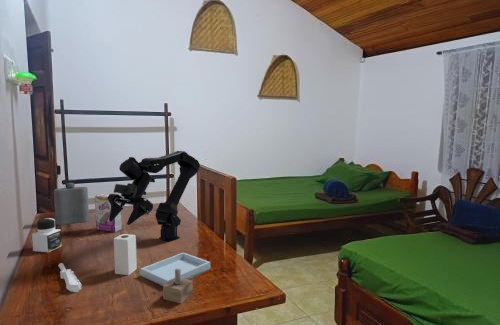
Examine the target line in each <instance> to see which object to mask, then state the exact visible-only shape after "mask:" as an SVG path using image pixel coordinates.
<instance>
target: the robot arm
mask: <svg viewBox="0 0 500 325" xmlns="http://www.w3.org/2000/svg"><path fill="white" fill-rule="evenodd" d="M176 163H177V165H178V166H179V168H178V169H179V175H178V177H177V180H176V181H175V183H174V185H173V188H172V189H171V192H170V193H169V196H168V197H167V200H166V201H165V202H160V203H159V204H158V207H157V208H156V210H155V211H156V212H155V215H154V216H155V220H156V221H157V225H159V226H160V236H159V237H158V239H160V240H162V241H164V242H169V243H170V242H172V241H174V240H178V239H180V235H179V236H178V227H179V226H181V223H182V220H181V218H180V217H179V216H178V212H179V210H178V205H179V203H180V201H181V198H182V196H183V194H184V192H185V190H186V188H187V186H188V184H189V181H190V180H191V179H192V178H193V177H194V176H196V175H197V173H198V171H199V170H200V167H201V164H200V162H199V160H198V159H196V158H195V157H193V156H192V155H190V154H188V152H186V151H184V150H176V151H174V152H172V153H169V154H165V155H162V156H159V157H144V158H142V159H141V161H138V160H136V158H135V157H133V156H129V157H128V159H125V160H124V161H123V162H121V164H120V165H119V168H118V169H119V171H120V172H121V173H122V174H124V176H126V177H127V178H128V179H129V180H133V181H132V182H131V183H130V182H129V183H127V184H121V183H120V184H119V183H115V185H114V189H113V193H110V194H108V195H109V196H108V198H107V200H108V201H109V203H110V204H111V211H110V217H109V221H110V222H112V221H113V220H114V219H115V217H116V216H117V215H118V214H119V213H120V212H121V213H122V210H124V207H125V205H130V206H132V211H131V213H130V215H129V218H128V219H127V221H126V225H128V226H130V225H131V224H132V223H135V221H137V220H138V219H139V218H141V217H143V215H146V214H148V213H149V212H152V210H153V209H154V203H152V202H151V201H150V200H149V199H147V198H146V197H143V196H146V195H147V191H146V190H147V188H148V186H149V184H150V183H156V182H155V181H156V180H155V178H154V177H155V176H154V175H152V174H157V173H159V172H161V171H163V169H164V168H165V167H167V166H170V165H173V164H176Z"/></svg>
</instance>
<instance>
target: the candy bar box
mask: <svg viewBox="0 0 500 325" xmlns="http://www.w3.org/2000/svg"><path fill="white" fill-rule="evenodd" d="M108 196H109V194H106V193H104V194H97V195H95V196H94V204H95V205H94V207H95V208H94V209H95V210H94V211H95V223H96V224H95V228H96V230H97V231H103V232H104V231H105V232H109V233H110V232H111V233H117V232H119V231H121V230H123V229H122V227H123V226H122V222H123V221H122V211H121V212H120V213H119V214H118V215H117V216H116V217H115V219H114V220H113V221H112V222H110V221H109V217H110V211H111V204H110V203H109V201H108V200H107V198H108Z"/></svg>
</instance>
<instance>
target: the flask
mask: <svg viewBox="0 0 500 325" xmlns="http://www.w3.org/2000/svg"><path fill="white" fill-rule="evenodd" d="M88 190H89V188H88V187H87V186H76V184H75V183H74V182H68V183H66V187H62V188H60V187H59V188H55V189H54V190H53V200H54V202H53V204H54V215H55V216H54V220H55V226H64V225H72V224H79V223H87V222H89V221H90V211H89V209H90V208H89V192H88Z"/></svg>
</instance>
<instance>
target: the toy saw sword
mask: <svg viewBox="0 0 500 325" xmlns="http://www.w3.org/2000/svg"><path fill="white" fill-rule="evenodd" d="M58 268H59V269H60V272H59V273H60V274H59V275H60V279H63V280H64V281H65V286H66V287H65V288H66V290H68V291H69V292H71V293H78V292H80V290H82V286H83V284H82V283H81V282H80V279H79V278H78V277H77V276H76V275H75V274H74V273H75V271H73V270H72V269H71V268H68V269H67V268H66V266H65V265H64V263H63V262H60V263H59V264H58Z"/></svg>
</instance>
